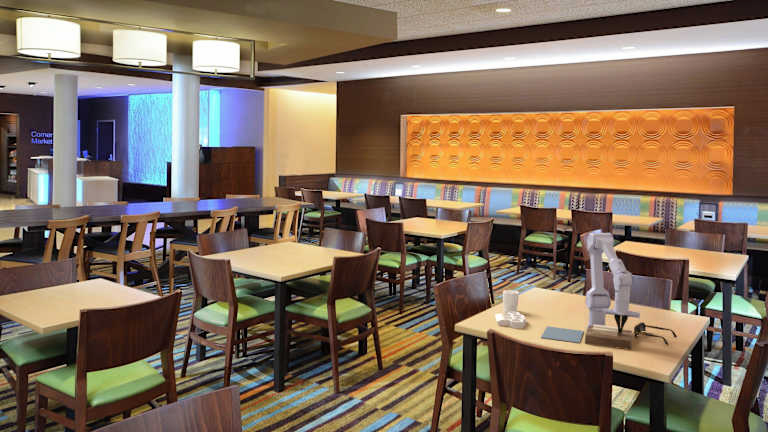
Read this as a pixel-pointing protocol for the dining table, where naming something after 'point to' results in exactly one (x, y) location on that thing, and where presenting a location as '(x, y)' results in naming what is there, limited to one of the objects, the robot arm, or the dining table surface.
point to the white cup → (510, 300)
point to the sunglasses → (642, 327)
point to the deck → (609, 339)
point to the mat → (562, 334)
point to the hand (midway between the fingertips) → (620, 332)
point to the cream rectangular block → (605, 330)
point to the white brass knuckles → (511, 319)
